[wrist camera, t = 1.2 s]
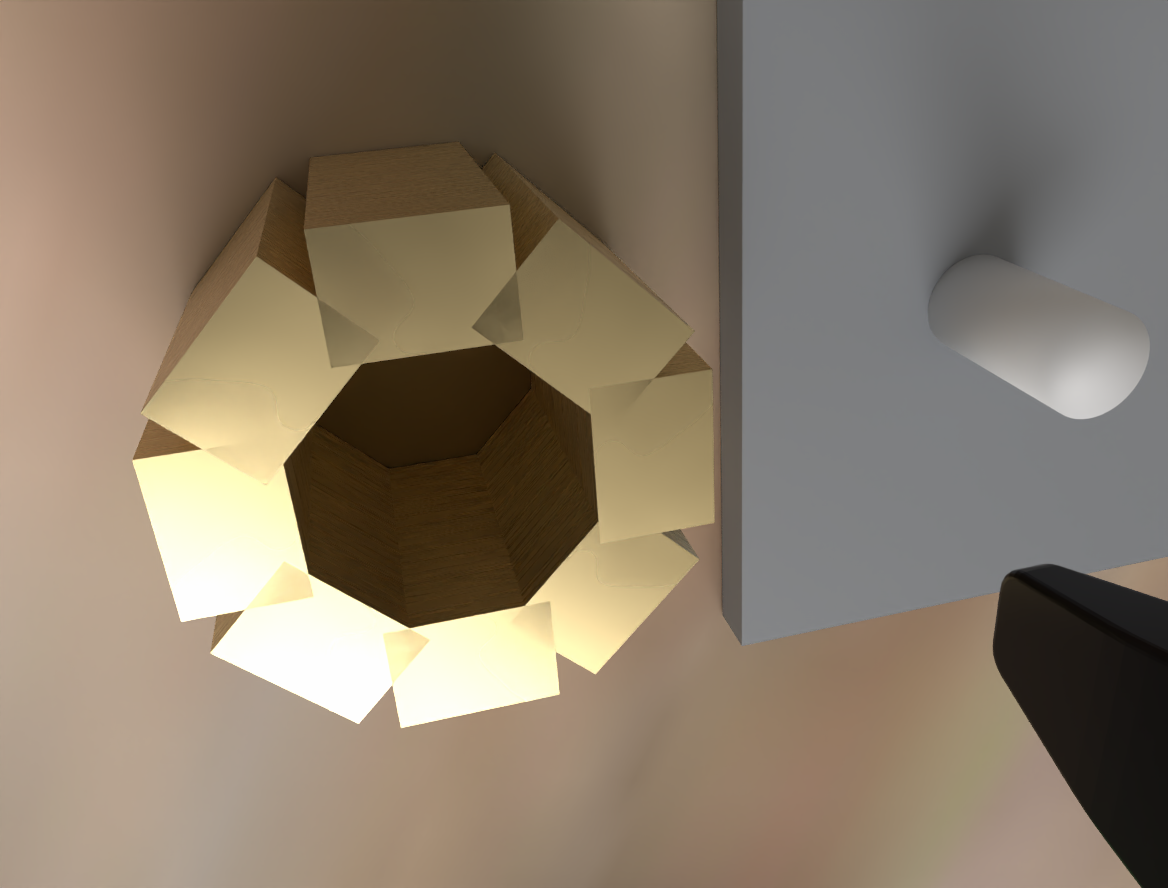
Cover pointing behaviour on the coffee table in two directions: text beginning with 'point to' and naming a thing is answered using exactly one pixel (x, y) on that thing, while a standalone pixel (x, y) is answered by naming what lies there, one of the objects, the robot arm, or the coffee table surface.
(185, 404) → the gear
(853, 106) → the carrier board
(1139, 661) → the robot arm
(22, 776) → the coffee table surface
